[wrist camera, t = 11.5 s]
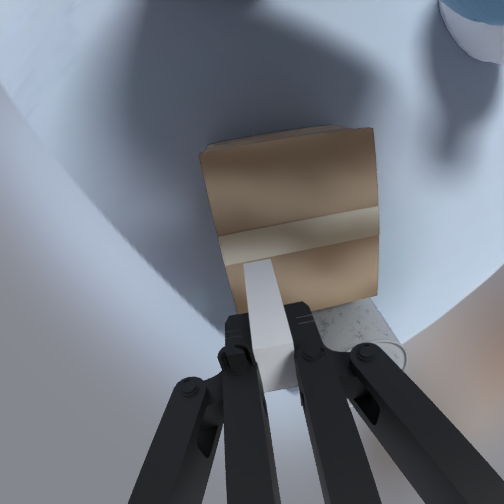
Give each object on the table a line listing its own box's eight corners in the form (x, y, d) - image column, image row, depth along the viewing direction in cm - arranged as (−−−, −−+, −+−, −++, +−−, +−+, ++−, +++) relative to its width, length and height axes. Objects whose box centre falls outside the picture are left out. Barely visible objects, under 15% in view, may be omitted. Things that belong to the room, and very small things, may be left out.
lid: (199, 153, 20) (198, 155, 19) (368, 127, 20) (373, 128, 19) (239, 320, 27) (240, 326, 26) (373, 290, 27) (377, 295, 26)
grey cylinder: (303, 344, 39) (326, 419, 28) (279, 290, 35) (302, 368, 24) (369, 317, 38) (408, 383, 27) (356, 258, 34) (406, 324, 23)
